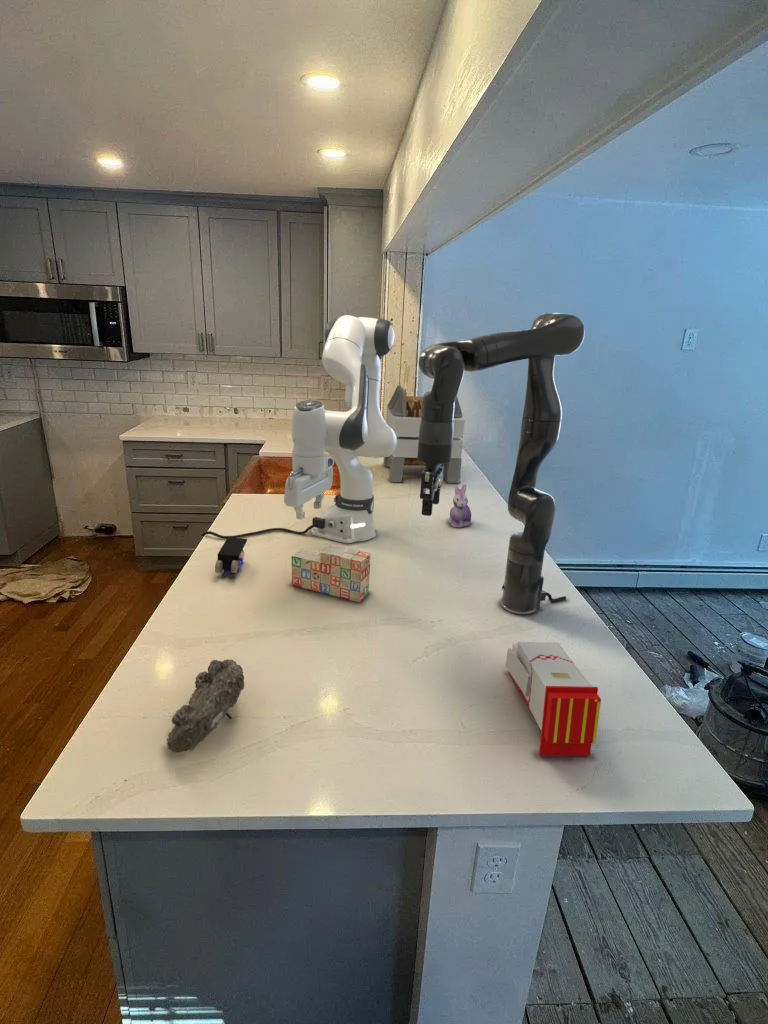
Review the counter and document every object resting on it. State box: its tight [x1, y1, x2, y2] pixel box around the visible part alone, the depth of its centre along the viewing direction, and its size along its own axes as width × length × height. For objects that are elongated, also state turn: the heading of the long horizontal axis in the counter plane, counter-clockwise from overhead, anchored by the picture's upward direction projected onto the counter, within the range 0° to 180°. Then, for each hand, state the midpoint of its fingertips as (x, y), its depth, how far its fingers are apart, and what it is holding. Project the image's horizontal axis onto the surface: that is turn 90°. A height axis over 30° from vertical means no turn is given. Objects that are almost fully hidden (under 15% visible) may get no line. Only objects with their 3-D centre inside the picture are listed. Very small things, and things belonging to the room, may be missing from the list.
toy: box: [505, 641, 602, 757], centre depth 113 cm, size 12×13×30 cm
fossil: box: [166, 658, 245, 754], centre depth 106 cm, size 22×10×15 cm
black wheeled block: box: [214, 537, 248, 578], centre depth 166 cm, size 7×8×15 cm
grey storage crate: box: [383, 384, 465, 484], centre depth 268 cm, size 34×33×41 cm
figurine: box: [448, 483, 472, 528], centre depth 209 cm, size 9×10×15 cm
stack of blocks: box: [290, 544, 371, 603], centre depth 157 cm, size 21×6×12 cm, turn 67°
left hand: (309, 513), depth 154 cm, fingers open, 8 cm apart
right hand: (430, 509), depth 130 cm, fingers open, 8 cm apart
